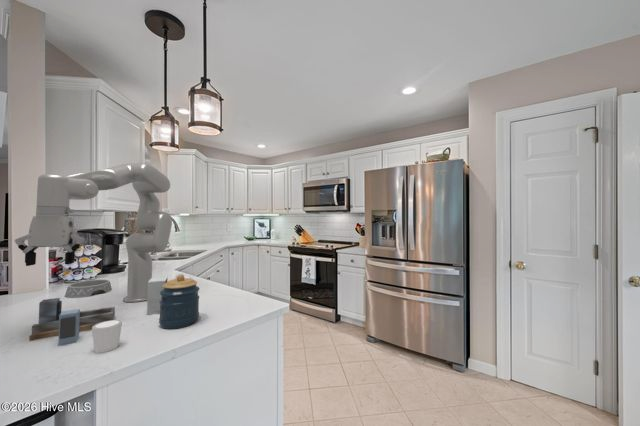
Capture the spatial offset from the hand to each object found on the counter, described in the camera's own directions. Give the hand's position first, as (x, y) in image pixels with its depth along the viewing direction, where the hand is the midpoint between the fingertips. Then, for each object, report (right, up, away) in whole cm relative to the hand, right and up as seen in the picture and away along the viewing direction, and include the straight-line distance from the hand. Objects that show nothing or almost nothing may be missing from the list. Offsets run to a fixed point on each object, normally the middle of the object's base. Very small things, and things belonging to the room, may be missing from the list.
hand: (50, 264), depth 83 cm
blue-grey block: (+10, -23, -4) cm, 26 cm away
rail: (+3, -23, +6) cm, 24 cm away
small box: (+21, -24, +23) cm, 39 cm away
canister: (+36, -24, +11) cm, 45 cm away
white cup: (+25, -23, -8) cm, 35 cm away
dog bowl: (-31, -25, +48) cm, 63 cm away
